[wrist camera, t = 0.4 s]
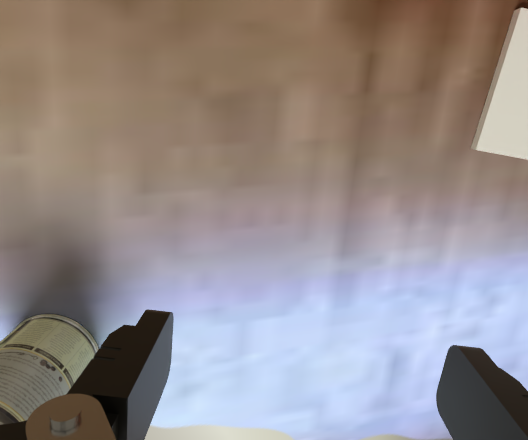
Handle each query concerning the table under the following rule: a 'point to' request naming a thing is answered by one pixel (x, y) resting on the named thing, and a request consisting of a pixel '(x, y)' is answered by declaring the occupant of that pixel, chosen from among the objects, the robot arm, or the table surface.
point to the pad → (508, 96)
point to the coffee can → (41, 363)
